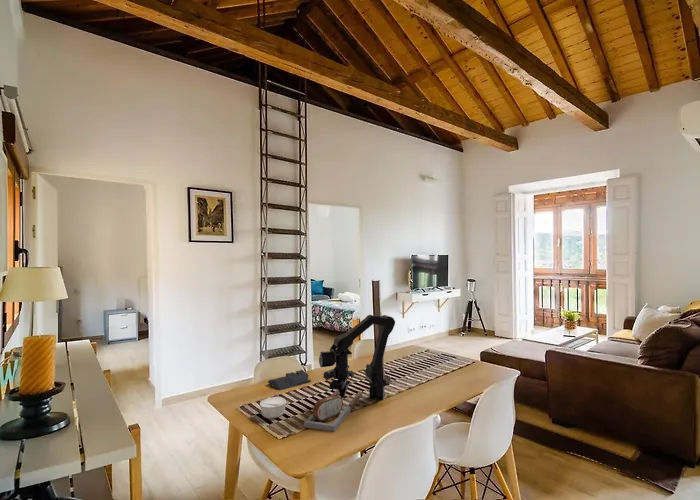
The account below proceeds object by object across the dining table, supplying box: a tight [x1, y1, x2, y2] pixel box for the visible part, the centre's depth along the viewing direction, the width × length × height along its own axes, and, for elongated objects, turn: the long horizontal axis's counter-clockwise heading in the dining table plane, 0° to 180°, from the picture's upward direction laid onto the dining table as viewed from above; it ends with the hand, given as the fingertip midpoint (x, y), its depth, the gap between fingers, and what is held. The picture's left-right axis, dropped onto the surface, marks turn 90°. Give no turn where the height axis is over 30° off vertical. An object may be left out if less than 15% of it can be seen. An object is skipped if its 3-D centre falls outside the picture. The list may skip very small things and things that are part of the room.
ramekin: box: [259, 396, 287, 419], centre depth 164 cm, size 11×11×5 cm
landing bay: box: [303, 405, 351, 432], centre depth 158 cm, size 13×20×2 cm, turn 162°
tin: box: [312, 394, 344, 422], centre depth 159 cm, size 15×3×8 cm, turn 133°
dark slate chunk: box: [267, 369, 312, 391], centre depth 204 cm, size 15×22×5 cm
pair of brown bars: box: [330, 389, 363, 410], centre depth 177 cm, size 13×16×2 cm
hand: (342, 398), depth 174 cm, fingers closed
